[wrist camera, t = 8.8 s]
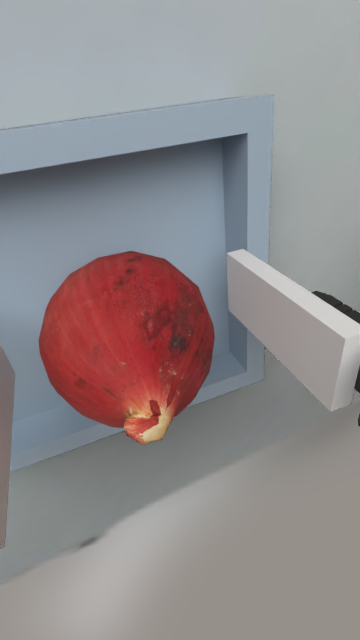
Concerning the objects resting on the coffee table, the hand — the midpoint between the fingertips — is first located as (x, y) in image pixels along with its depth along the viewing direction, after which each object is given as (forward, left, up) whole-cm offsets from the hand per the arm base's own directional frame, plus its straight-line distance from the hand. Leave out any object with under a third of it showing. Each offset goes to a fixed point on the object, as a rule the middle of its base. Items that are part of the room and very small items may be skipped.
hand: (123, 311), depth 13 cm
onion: (0, 0, -2) cm, 2 cm away
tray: (-1, 0, -3) cm, 3 cm away
